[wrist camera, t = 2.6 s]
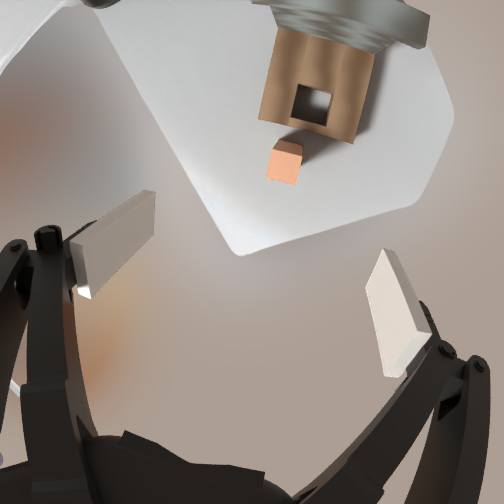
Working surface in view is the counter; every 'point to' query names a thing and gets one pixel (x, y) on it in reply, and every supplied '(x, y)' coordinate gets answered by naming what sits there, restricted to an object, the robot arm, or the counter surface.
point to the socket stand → (333, 56)
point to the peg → (285, 162)
